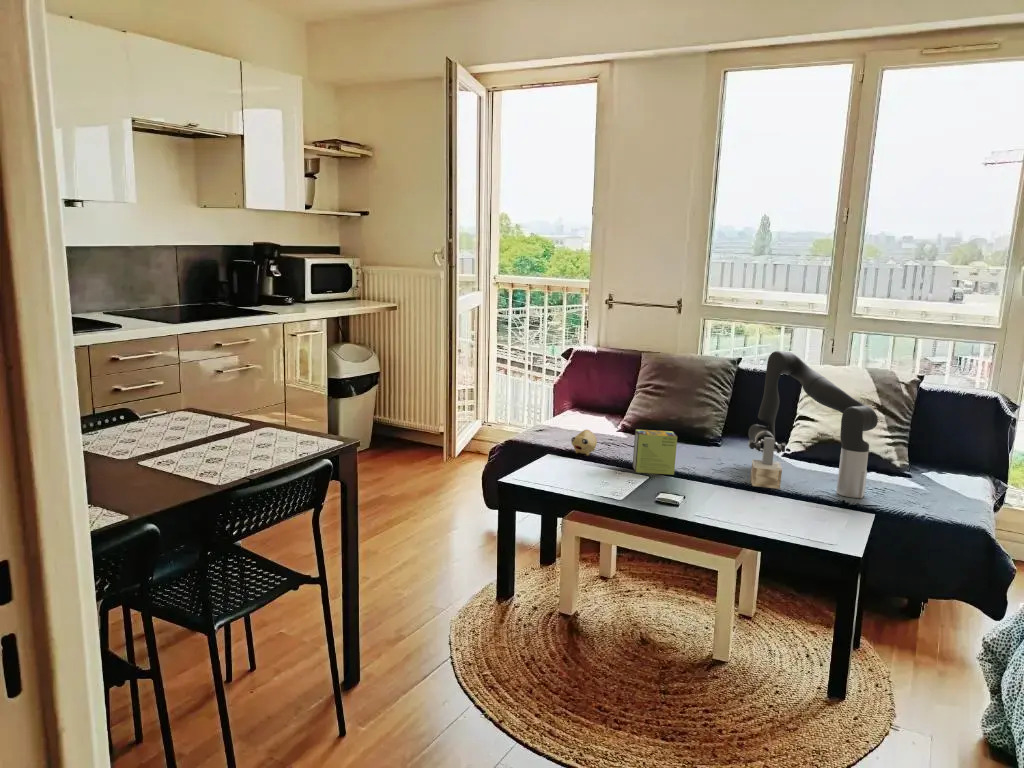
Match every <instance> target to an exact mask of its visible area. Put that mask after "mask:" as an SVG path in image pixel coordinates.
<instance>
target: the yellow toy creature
mask: <svg viewBox="0 0 1024 768" xmlns="http://www.w3.org/2000/svg"><path fill="white" fill-rule="evenodd" d="M570 441H571V445H572V446H573V448H574V450H575V454H582V455H586V456H587V457H588V456H589V455H590V453H592V452H594V451H595V450H596V447H597V444H598V441H597V437H596V435H595V433H593V431H591V430H589V429H584V430H582V431H581V432H580V433H578V434H577V435H576V436H573V437H572V438H571V440H570Z"/></svg>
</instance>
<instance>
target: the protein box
mask: <svg viewBox="0 0 1024 768" xmlns="http://www.w3.org/2000/svg"><path fill="white" fill-rule="evenodd" d="M677 444H678V435H677V434H676V433H675V432H674V431H669V430H652V429H651V430H650V429H635V430H634V441H633V455H632V457H633V458H632V468H633V470H634V472H635V473H637V474H638V473H641V474H655V475H656V474H657V475H672V476H673V475H675V470H676V469H675V468H676V457H677V447H678V445H677Z"/></svg>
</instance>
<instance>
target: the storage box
mask: <svg viewBox="0 0 1024 768" xmlns="http://www.w3.org/2000/svg"><path fill="white" fill-rule="evenodd" d="M782 472H783V470H782V471H780V470H770V469H761V468H754V466H753V463H752V462H751V471H750V482H751V483H750V484H751V486H752V487H758V488H759V487H760V488H768V489H769V488H771V489H779V490H780V489H781V484H782Z"/></svg>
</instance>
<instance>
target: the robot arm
mask: <svg viewBox="0 0 1024 768" xmlns="http://www.w3.org/2000/svg"><path fill="white" fill-rule="evenodd" d="M766 362H767V363H766V371H765V379H764V388H763V389H764V390H763V397H762V400H761V403H760V407H759V411H758V415H757V418H758V419H759V420H760V421H762V422H764V423H766V424H767V426H766V425H763V424H758V423H756V424H755V423H754V424H752V425H751V426H749V428H748V438H749V440H748V444H747V445H748V447H749V449H750V450H754V449H755V450H756V451H758V452H762V453H763V446H764V437H771V438H774V439H775V443H774V452H776V453H777V454H780V453H785V452H786V446H787V445H786V442H782V443H780V444H779V443H778V442H777V440H776V431H775V430H776V429H775V427H776V419H777V415H778V411H779V408H780V407H779V406H780V395H779V389H778V387H779V386H778V384H779V380H780V378H781V375H789V376H790V377H791V378H793V379H795V380H797V381H798V382H799V383H800V384H801V387H802V389H803V391H804V393H806V395H807V396H809V397H810V398H812V400H814V401H815V402H817V403H818V404H820V405H822V406H824V407H826V408H829V409H832V410H834V411H836V412H840V413H841V414H842V416H841V418H840V419H841V422H840V435H839V436H840V437H839V439H840V442H841V449H840V456H839V464H838V465H839V466H838V475H837V484H836V491H835V492H836V494H837V495H839V496H843V497H847V498H855V499H863V497H865V493H866V484H867V483H866V482H867V475H868V470H867V467H868V460H869V459H868V458H869V450H870V444H869V443H868V442H867V441H865V440H864V438H863V437H864V436H863V435H864V432H867V431H871V430H873V429H875V428H876V427H877V426H878V423H879V419H878V416H877V413H876V412H875V410H874V409H872V407H870V406H868V405H866V404H864V403H863V402H861V401H859V400H858V399H856V398H854V397H852V396H851V395H849V394H848V393H847V392H845V391H844V390H843V389H841V388H840V387H838V386H837V385H836V384H834V383H833V382H832V381H830V380H829V379H828V378H826V377H825V376H823V375H822V374H820V373H819V372H817V371H816V370H815V369H813V368H812V367H810V366H808V364H807V363H805V362H804V361H803V360H802V359H801V358H800V357H799V356H797V354H795V353H794V352H790V351H783V350H782V351H780V350H779V351H778V350H776V351H773V352H771V353H770V355H769V356H768V359H767V361H766Z"/></svg>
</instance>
